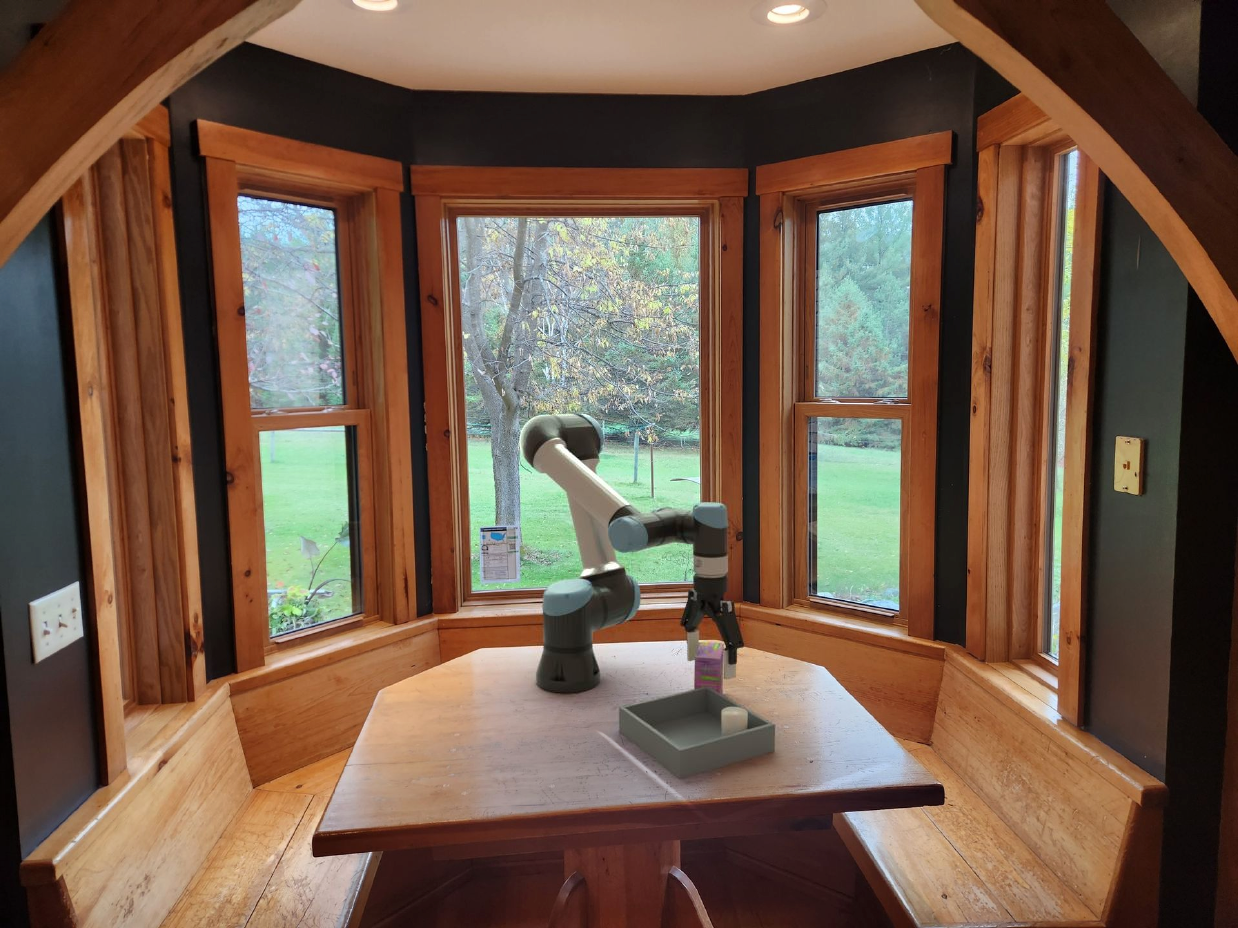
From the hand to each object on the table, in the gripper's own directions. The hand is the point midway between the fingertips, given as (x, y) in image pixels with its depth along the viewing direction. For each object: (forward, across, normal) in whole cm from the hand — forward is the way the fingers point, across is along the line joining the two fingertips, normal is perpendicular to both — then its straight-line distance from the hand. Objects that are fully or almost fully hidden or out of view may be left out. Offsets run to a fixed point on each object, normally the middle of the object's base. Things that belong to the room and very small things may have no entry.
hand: (710, 668), depth 172 cm
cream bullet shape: (+7, +19, -9) cm, 22 cm away
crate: (+8, +15, -15) cm, 23 cm away
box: (+8, -1, 0) cm, 8 cm away
